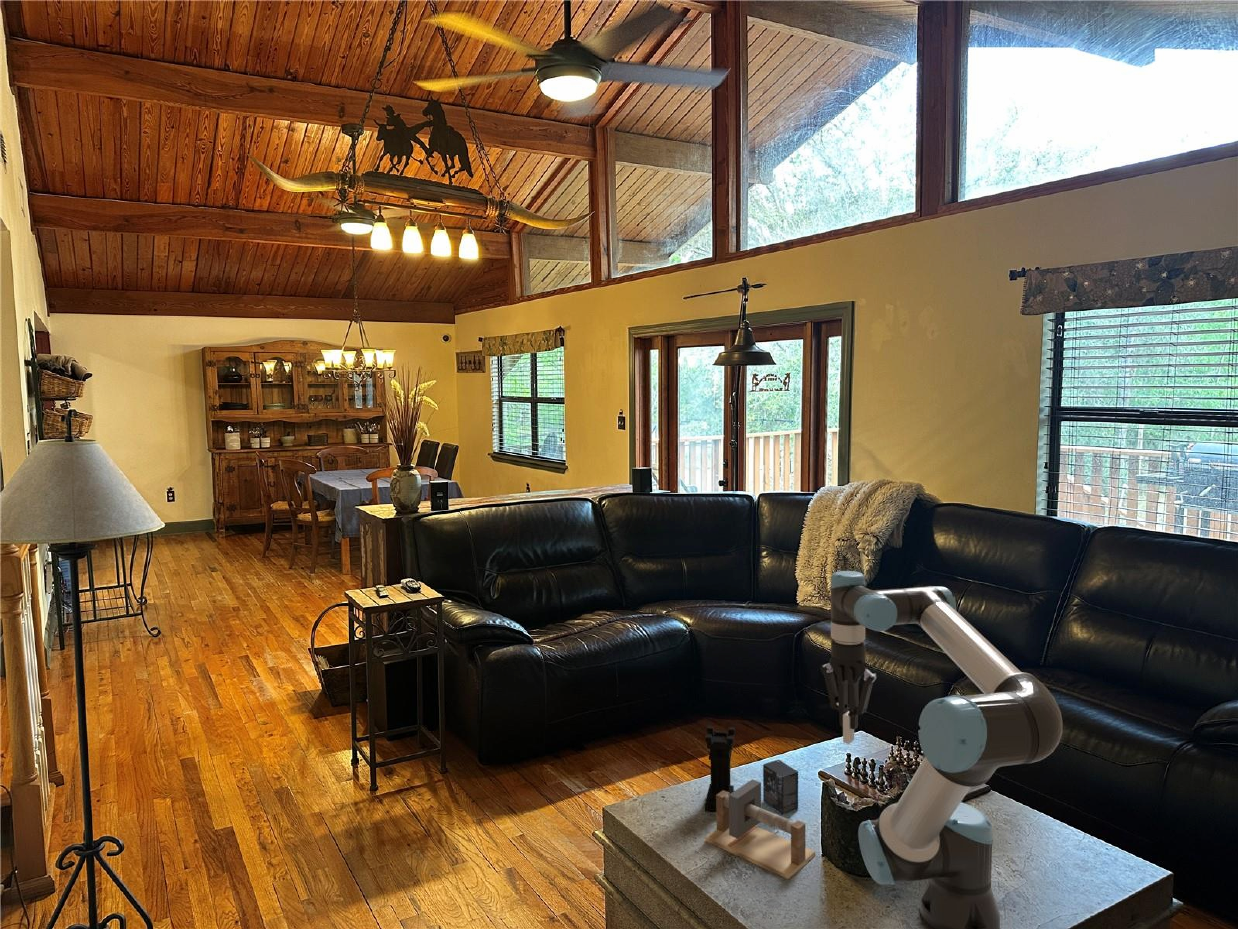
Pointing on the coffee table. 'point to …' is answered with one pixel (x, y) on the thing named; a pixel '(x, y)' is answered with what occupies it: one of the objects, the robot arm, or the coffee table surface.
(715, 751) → the chess piece
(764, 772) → the box
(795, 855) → the pipe rig
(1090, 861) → the coffee table surface
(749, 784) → the ring
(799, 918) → the coffee table surface
